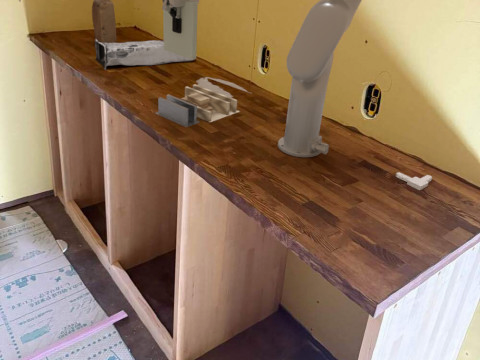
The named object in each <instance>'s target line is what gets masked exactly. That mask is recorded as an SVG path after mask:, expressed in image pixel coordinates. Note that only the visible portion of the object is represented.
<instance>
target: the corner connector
mask: <svg viewBox="0 0 480 360" xmlns="http://www.w3.org/2000/svg"><path fill="white" fill-rule="evenodd" d="M395 177H396V178H398V179H399V180H402V181H405V182H406V185H408V186H410V187H412V188H413V189H416V190H418V191H422V190H423V189H424V188H425V189H426V188H427V187H428V186H429V183H430V182H431V181H432V180H433V176H431V175H430V174H427V175H424V176H422V177H421V178H420V177H418V176H414V177H411V176H409V175H406V174H404V173H402V172H399V171H398V172H396V173H395Z"/></svg>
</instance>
